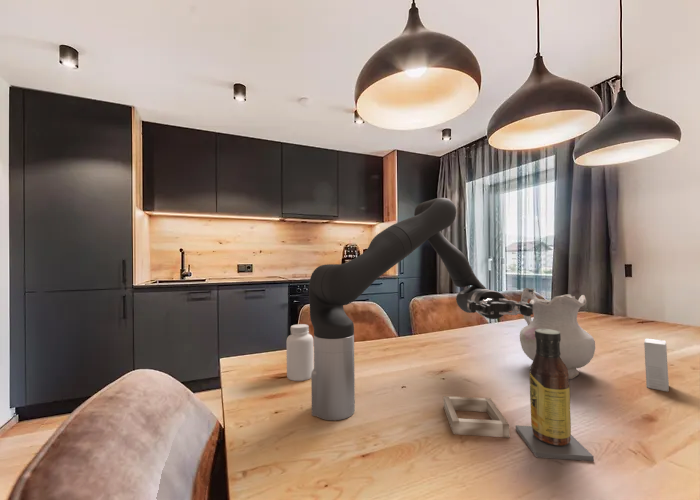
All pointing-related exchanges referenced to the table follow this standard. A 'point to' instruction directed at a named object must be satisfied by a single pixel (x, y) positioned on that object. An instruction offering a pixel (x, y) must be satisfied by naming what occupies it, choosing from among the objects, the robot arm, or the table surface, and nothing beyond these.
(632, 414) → the table surface
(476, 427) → the pocket frame
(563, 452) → the coaster
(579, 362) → the ceramic pitcher
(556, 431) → the sauce bottle
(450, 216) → the robot arm
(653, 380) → the skincare box
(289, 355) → the pill bottle
